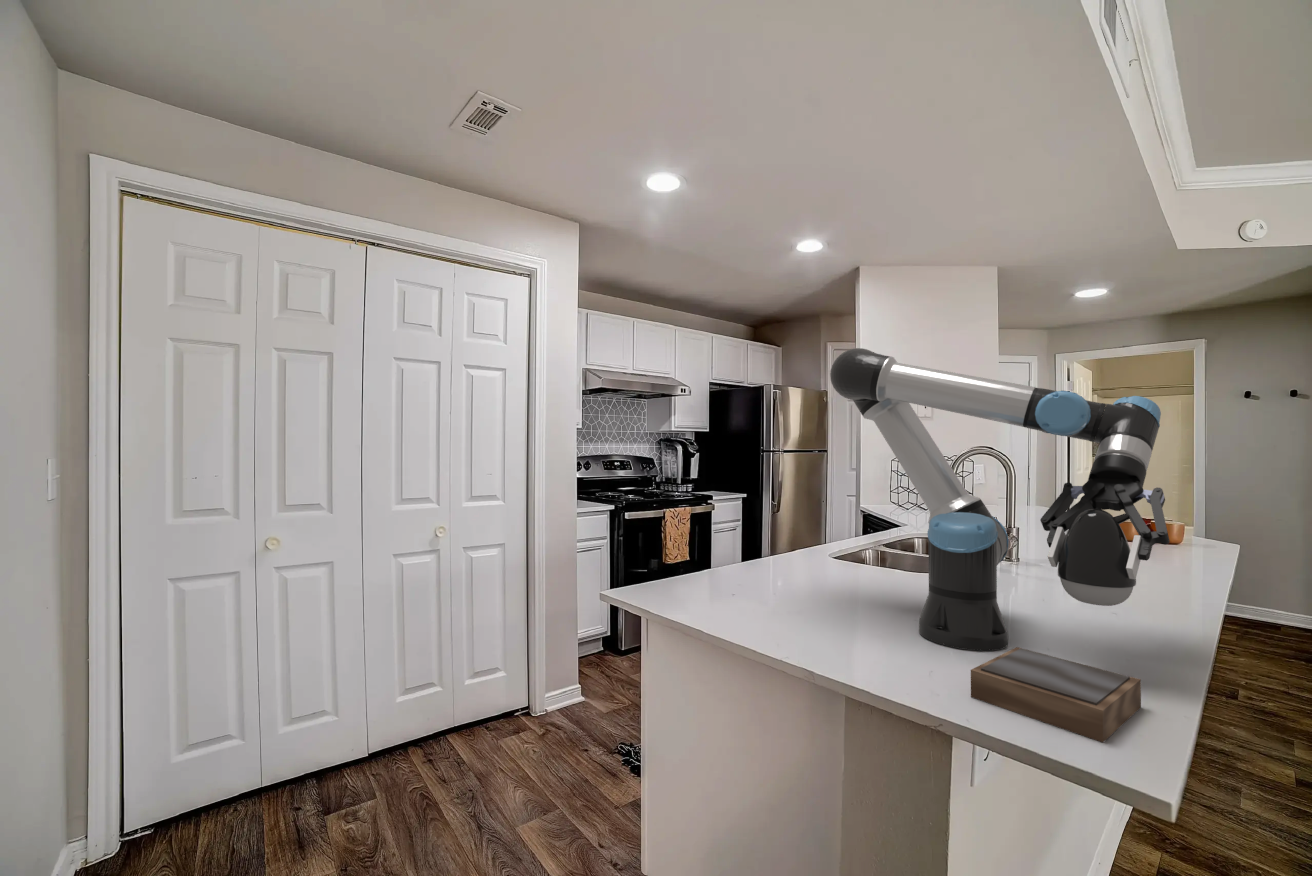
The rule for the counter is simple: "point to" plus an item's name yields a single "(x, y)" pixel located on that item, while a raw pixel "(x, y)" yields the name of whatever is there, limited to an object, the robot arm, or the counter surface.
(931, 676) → the counter surface
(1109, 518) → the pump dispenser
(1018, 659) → the walnut riser
